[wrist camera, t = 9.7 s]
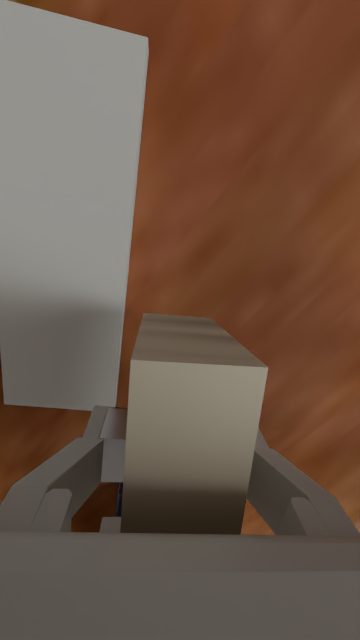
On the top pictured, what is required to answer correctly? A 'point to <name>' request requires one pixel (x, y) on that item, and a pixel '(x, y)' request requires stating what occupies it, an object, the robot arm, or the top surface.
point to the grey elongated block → (188, 429)
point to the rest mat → (66, 203)
